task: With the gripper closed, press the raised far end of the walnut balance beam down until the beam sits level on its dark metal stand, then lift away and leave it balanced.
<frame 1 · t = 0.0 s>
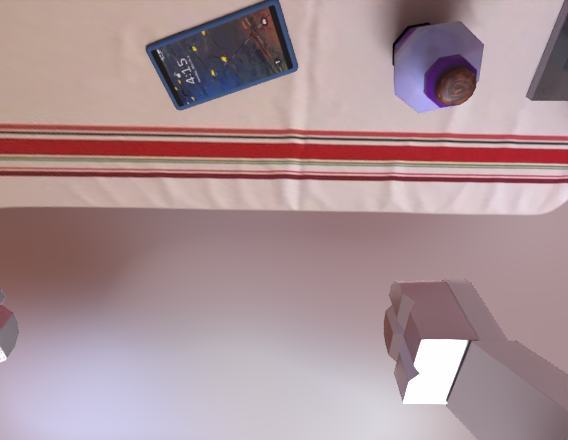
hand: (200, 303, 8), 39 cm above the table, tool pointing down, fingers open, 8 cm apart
smartphone: (223, 56, 43), on the table
potion bottle: (416, 49, 42), on the table
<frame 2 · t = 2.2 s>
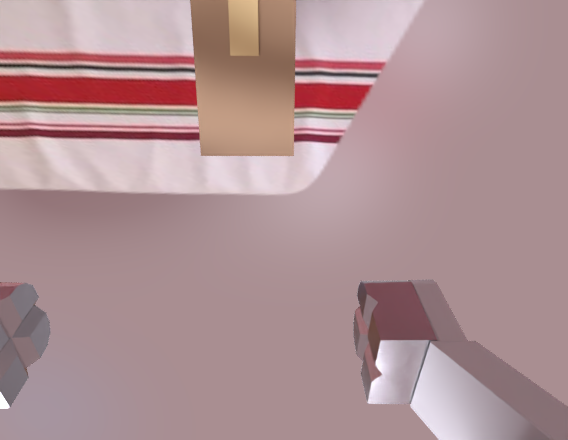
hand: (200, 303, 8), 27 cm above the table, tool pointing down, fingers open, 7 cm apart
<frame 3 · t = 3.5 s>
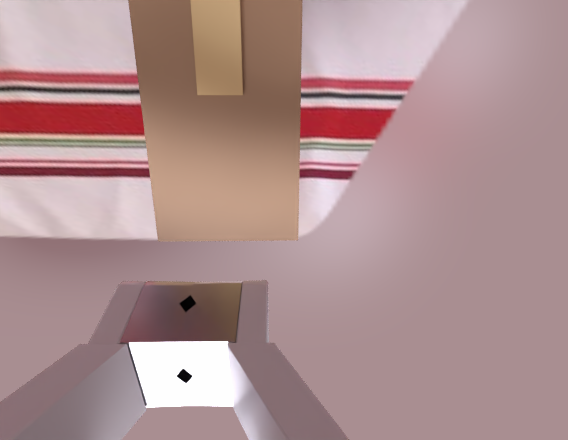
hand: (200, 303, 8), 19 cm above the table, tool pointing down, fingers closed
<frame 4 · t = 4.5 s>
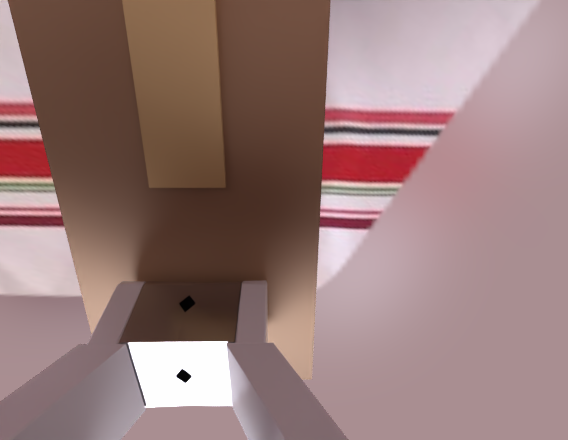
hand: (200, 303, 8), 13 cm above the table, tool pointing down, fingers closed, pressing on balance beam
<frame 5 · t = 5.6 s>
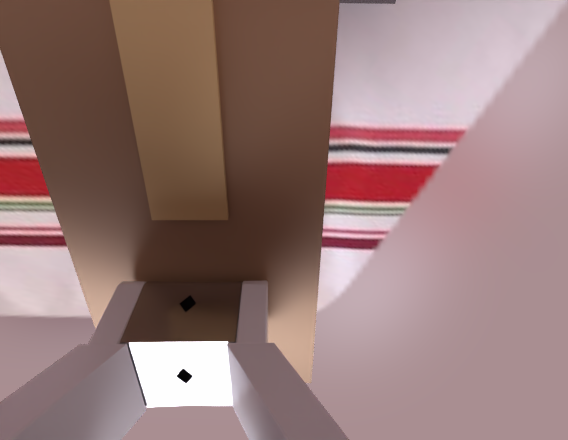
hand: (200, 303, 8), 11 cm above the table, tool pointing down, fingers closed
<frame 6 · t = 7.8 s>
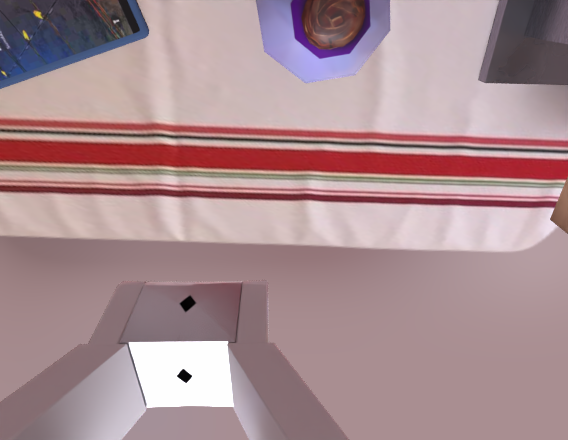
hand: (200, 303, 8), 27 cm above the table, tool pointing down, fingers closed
smartphone: (43, 14, 30), on the table
potion bottle: (314, 7, 30), on the table
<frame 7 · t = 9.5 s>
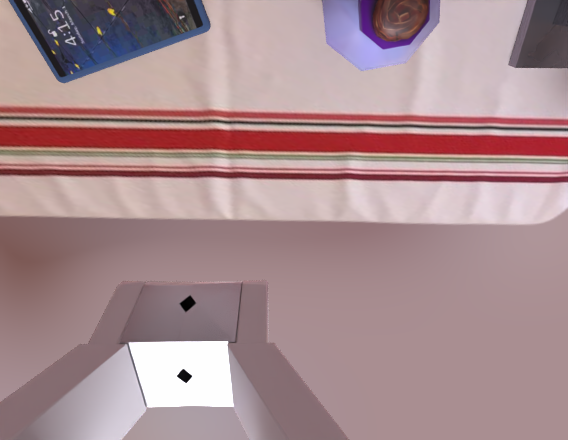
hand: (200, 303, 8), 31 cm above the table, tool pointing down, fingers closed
smartphone: (114, 11, 33), on the table
potion bottle: (361, 0, 33), on the table
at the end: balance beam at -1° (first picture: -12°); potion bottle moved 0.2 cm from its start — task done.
